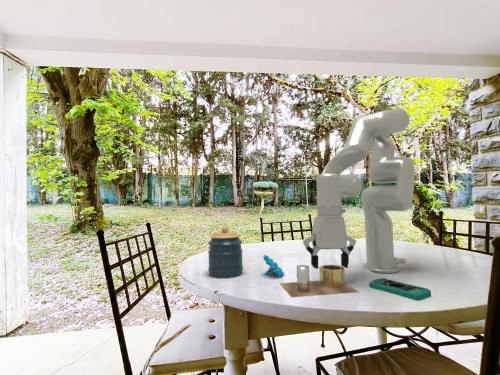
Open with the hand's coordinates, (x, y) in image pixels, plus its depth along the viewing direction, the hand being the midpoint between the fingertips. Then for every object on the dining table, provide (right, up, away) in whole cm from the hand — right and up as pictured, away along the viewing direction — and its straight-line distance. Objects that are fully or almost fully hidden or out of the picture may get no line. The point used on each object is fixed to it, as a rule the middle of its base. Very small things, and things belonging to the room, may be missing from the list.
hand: (330, 267), depth 88 cm
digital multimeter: (+17, -6, -8) cm, 20 cm away
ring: (+1, -5, 0) cm, 5 cm away
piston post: (-9, -6, -6) cm, 12 cm away
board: (-5, -6, -3) cm, 8 cm away
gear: (-16, -7, +12) cm, 22 cm away
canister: (-34, -8, +18) cm, 39 cm away
